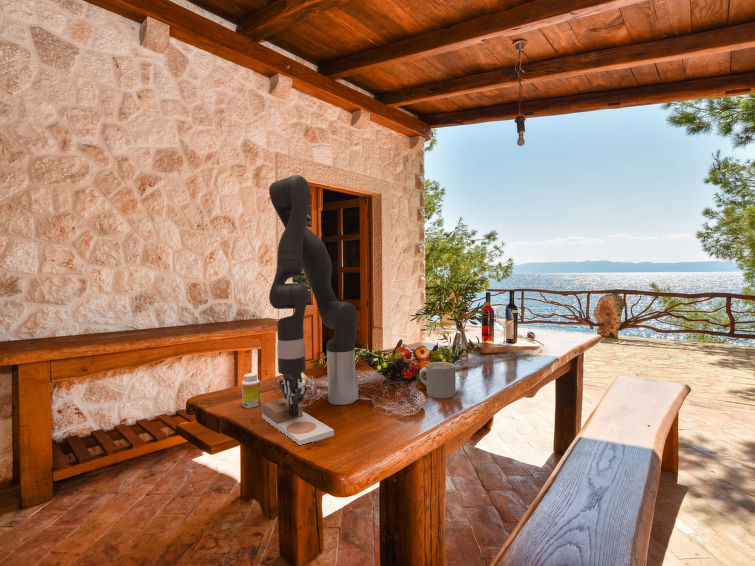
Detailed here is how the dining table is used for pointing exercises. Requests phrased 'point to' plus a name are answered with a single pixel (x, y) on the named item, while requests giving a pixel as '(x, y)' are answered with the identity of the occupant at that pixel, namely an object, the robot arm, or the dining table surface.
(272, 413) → the cover
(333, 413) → the dining table surface
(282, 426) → the board
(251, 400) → the supplement bottle
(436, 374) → the coffee mug
